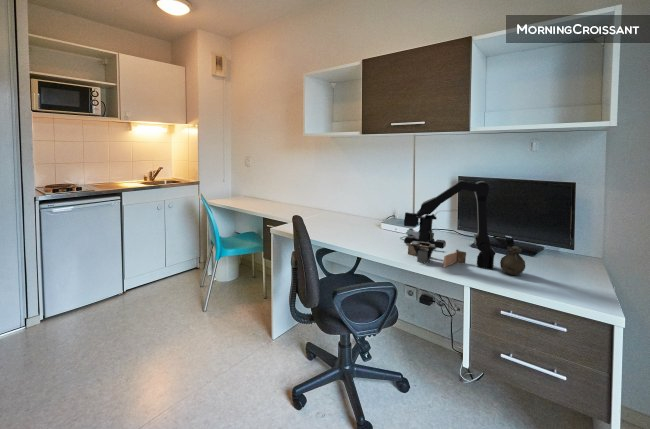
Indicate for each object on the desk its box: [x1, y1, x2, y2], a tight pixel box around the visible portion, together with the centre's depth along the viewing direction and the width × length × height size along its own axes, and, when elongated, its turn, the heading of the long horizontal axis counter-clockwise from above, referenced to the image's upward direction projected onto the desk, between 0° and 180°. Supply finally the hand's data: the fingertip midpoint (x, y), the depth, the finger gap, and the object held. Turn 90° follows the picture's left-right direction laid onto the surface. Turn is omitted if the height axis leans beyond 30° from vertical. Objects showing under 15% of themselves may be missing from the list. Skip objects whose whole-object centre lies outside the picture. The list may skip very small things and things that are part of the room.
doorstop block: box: [416, 248, 431, 264], centre depth 168 cm, size 6×4×6 cm
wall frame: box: [407, 243, 467, 264], centre depth 172 cm, size 28×2×6 cm, turn 59°
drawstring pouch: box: [499, 245, 526, 276], centre depth 150 cm, size 10×10×12 cm
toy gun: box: [404, 227, 436, 246], centre depth 192 cm, size 2×17×10 cm, turn 51°
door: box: [443, 251, 458, 268], centre depth 162 cm, size 11×1×5 cm, turn 134°
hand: (423, 258), depth 168 cm, fingers closed on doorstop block, 4 cm apart
